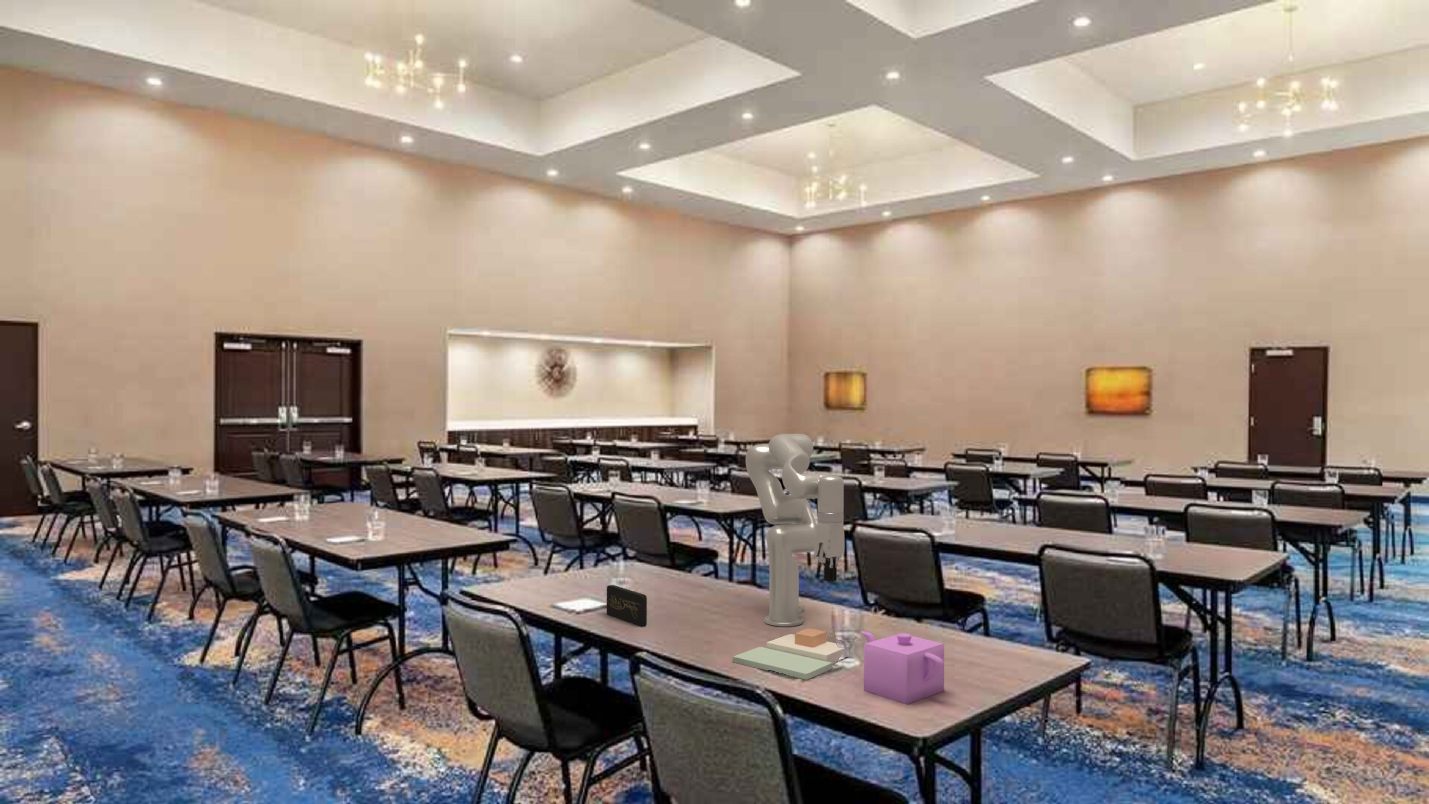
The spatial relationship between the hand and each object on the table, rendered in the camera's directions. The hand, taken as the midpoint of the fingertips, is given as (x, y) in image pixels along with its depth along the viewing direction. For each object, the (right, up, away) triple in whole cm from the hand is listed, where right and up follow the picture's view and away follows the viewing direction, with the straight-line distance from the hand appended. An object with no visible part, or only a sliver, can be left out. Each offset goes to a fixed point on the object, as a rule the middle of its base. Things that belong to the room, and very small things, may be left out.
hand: (830, 580), depth 255 cm
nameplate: (-63, -19, +29) cm, 72 cm away
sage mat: (-16, -19, -19) cm, 31 cm away
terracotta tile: (-7, -16, -8) cm, 19 cm away
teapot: (+12, -19, -39) cm, 45 cm away
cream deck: (-8, -19, -9) cm, 23 cm away
